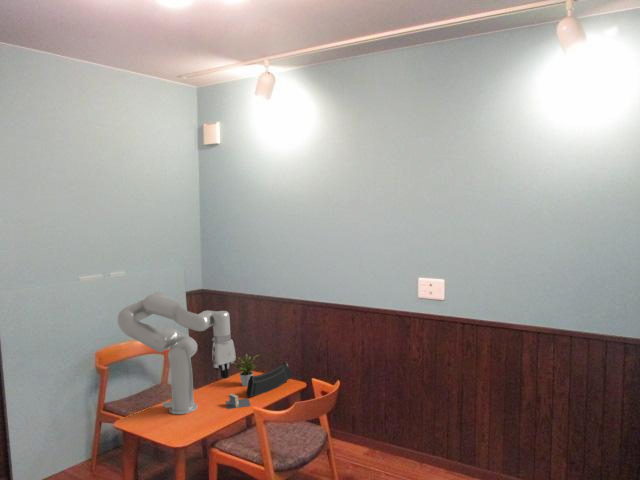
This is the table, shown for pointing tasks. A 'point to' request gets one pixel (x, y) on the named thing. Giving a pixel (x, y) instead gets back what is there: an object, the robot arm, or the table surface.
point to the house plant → (245, 370)
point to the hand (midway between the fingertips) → (224, 377)
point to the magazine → (268, 380)
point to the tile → (233, 400)
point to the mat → (241, 404)
